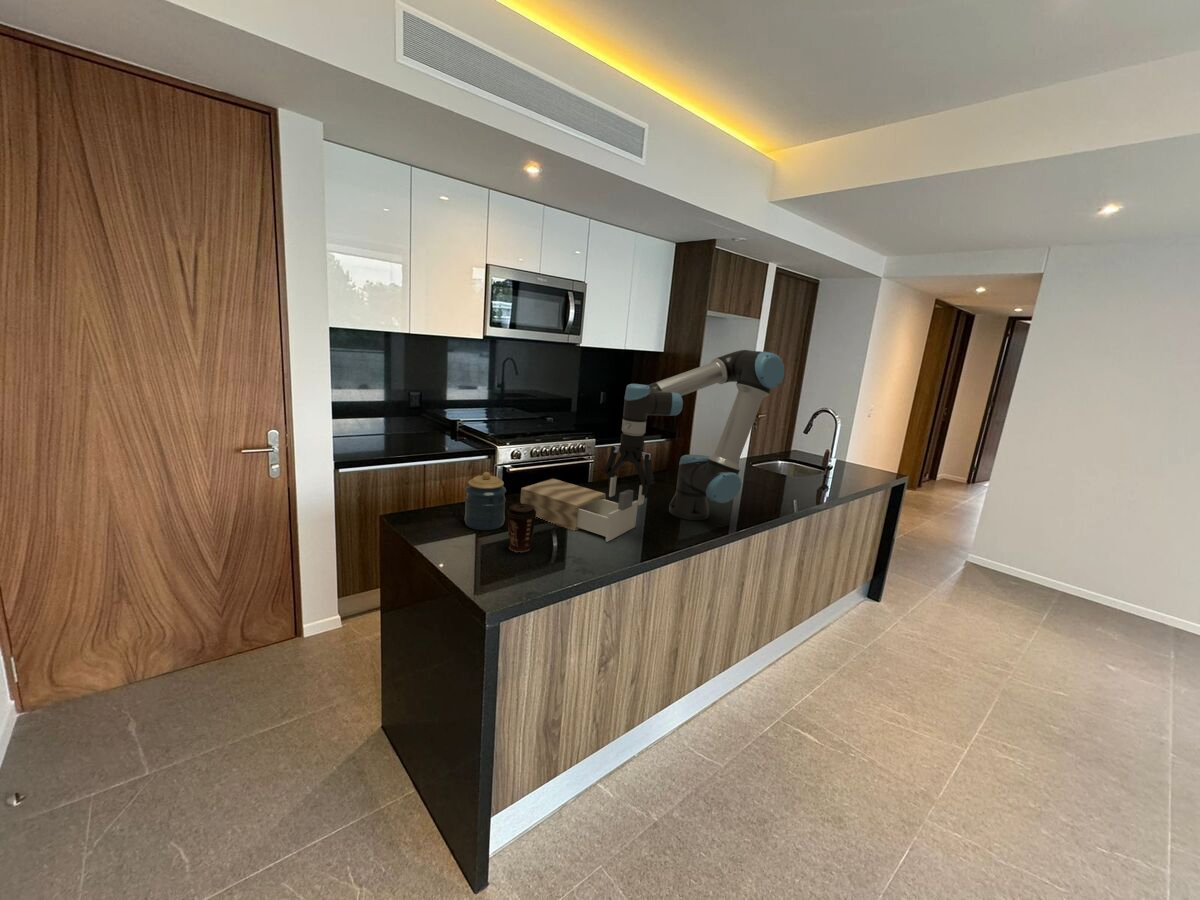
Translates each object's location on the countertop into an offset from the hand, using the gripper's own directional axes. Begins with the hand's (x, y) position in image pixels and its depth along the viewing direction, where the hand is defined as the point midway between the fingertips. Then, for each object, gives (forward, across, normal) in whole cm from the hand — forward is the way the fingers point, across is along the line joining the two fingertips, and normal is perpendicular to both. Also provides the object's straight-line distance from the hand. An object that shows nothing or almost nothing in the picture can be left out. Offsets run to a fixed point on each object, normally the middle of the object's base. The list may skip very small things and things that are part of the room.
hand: (626, 499), depth 163 cm
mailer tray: (+12, -12, 0) cm, 17 cm away
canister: (+12, -38, -25) cm, 47 cm away
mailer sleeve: (+12, -25, 0) cm, 28 cm away
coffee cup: (+12, -17, -31) cm, 38 cm away
